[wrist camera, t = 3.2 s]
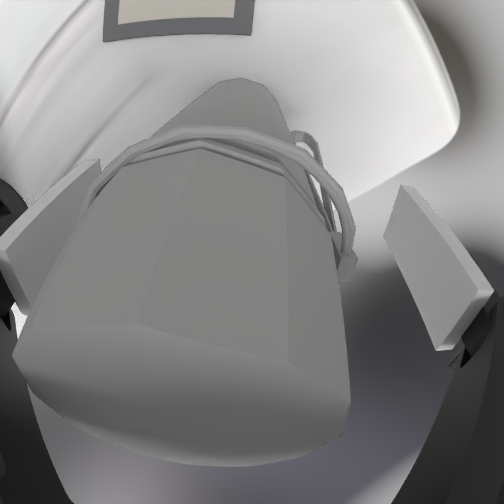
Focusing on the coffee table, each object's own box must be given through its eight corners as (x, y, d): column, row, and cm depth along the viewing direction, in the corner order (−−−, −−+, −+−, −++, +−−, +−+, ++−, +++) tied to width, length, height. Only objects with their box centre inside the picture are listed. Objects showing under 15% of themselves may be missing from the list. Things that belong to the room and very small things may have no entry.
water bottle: (195, 154, 27) (76, 442, 7) (199, 71, 22) (-79, 237, 2) (295, 163, 27) (364, 466, 7) (307, 81, 23) (551, 291, 3)
